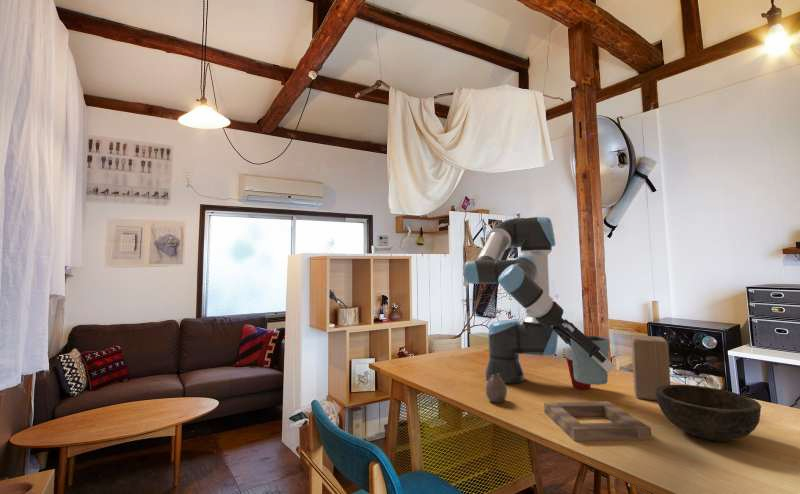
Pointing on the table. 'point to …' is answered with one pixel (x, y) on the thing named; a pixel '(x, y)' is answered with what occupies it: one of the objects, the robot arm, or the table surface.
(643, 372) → the wooden block
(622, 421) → the well board
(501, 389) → the vase
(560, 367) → the table surface
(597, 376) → the grey-green cup
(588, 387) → the plastic cup
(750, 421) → the bowl
